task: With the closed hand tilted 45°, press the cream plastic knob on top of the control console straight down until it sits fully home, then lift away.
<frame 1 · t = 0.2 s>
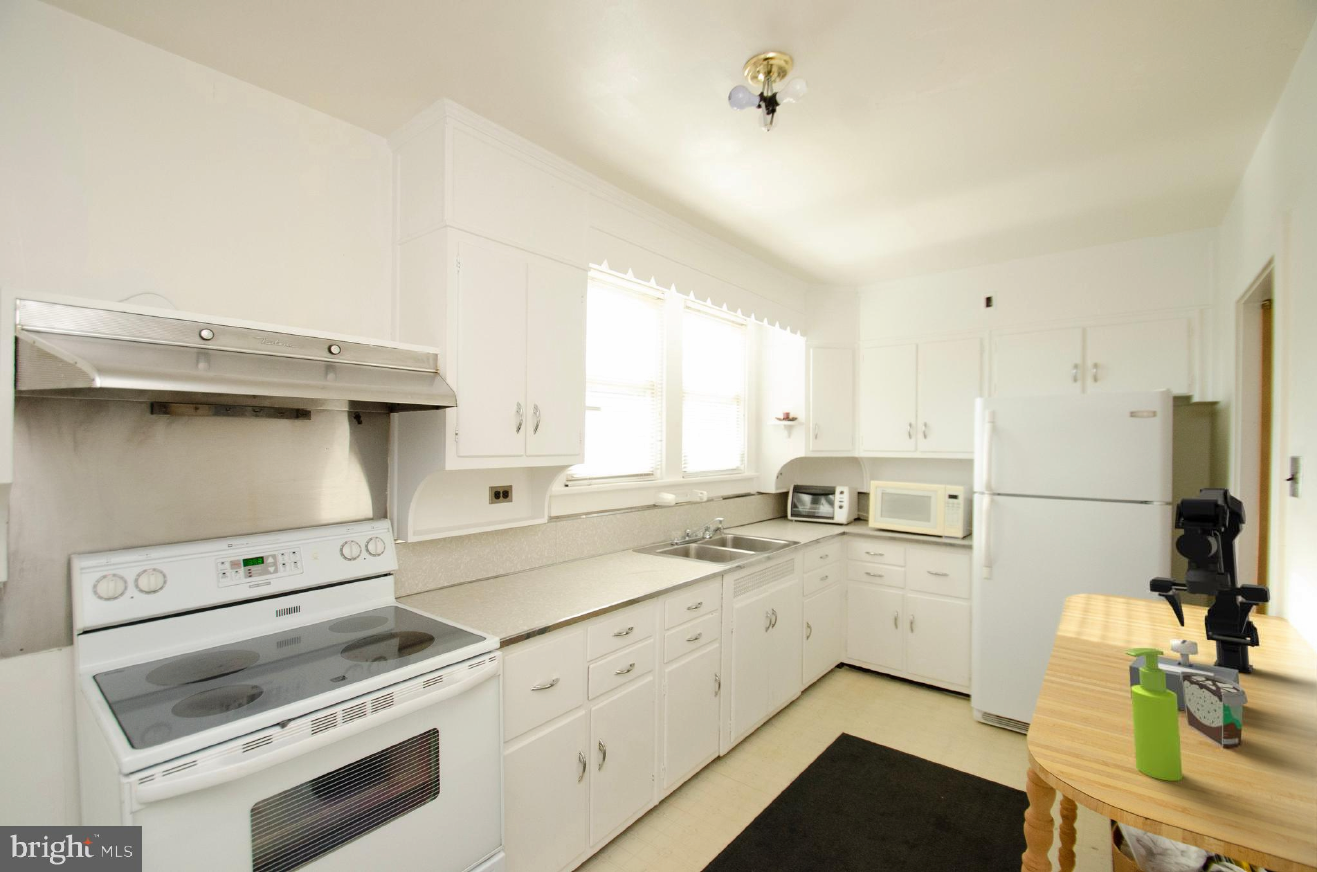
hand: (1210, 629, 128), 15 cm above the table, tool pointing down, fingers open, 9 cm apart
knob: (1184, 655, 129), point 9 cm above the table, slide at 2.5 cm
soap dispenser: (1156, 772, 99), on the table
console: (1185, 701, 126), on the table
food container: (1224, 738, 110), on the table
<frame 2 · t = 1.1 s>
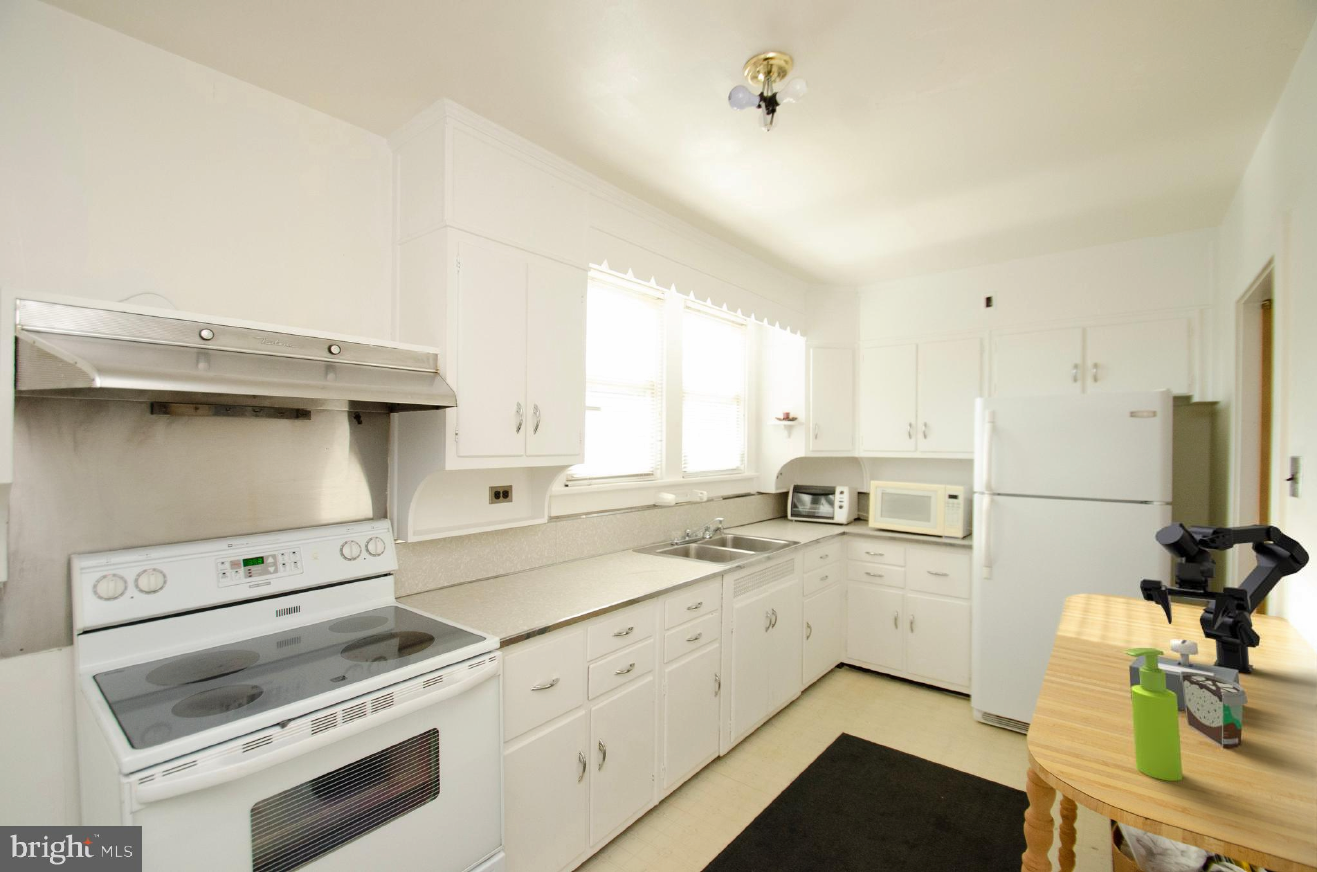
hand: (1191, 625, 135), 13 cm above the table, tool tilted 45°, fingers open, 7 cm apart
nothing on the table moved.
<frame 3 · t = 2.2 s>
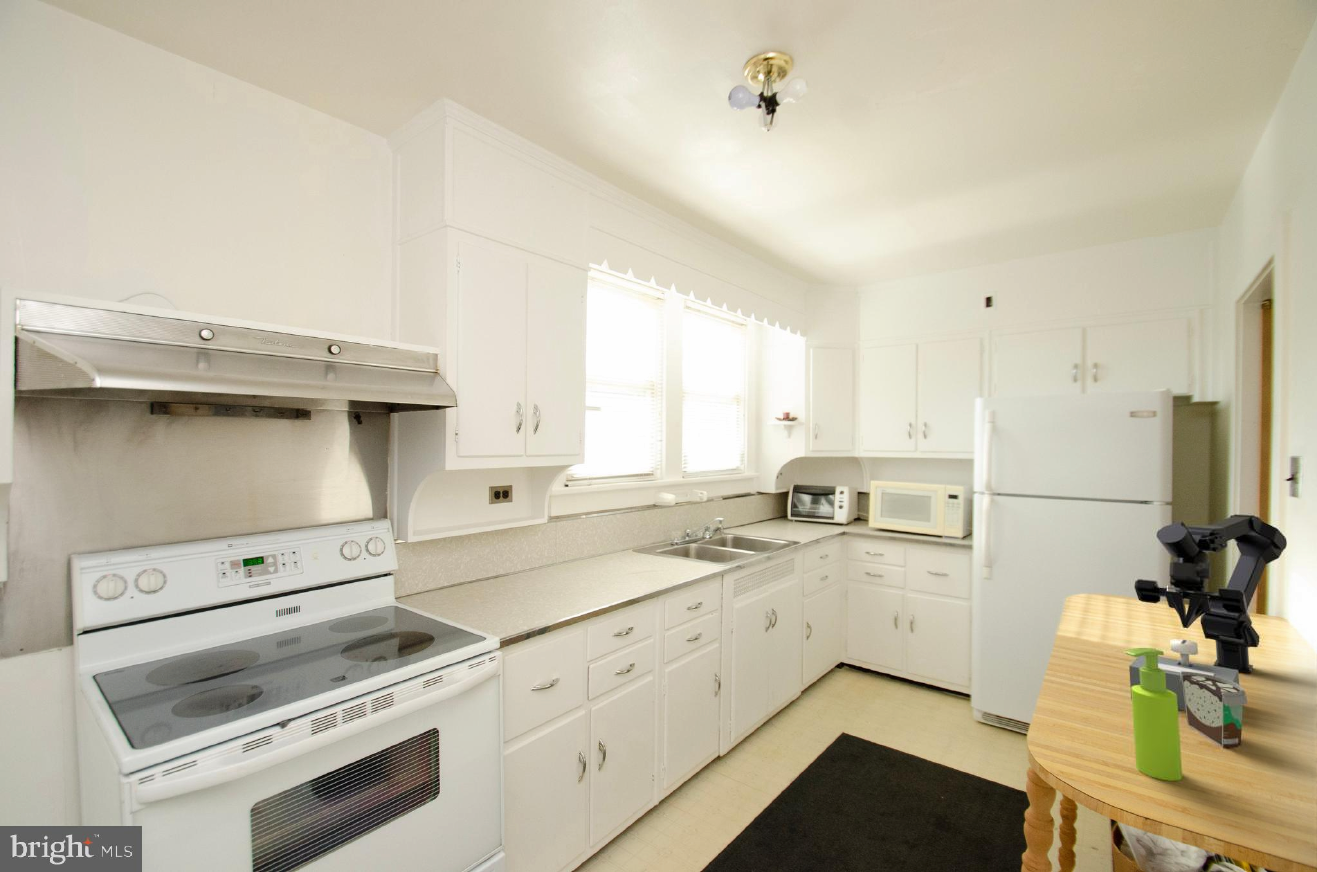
hand: (1185, 626, 132), 14 cm above the table, tool tilted 45°, fingers closed
nothing on the table moved.
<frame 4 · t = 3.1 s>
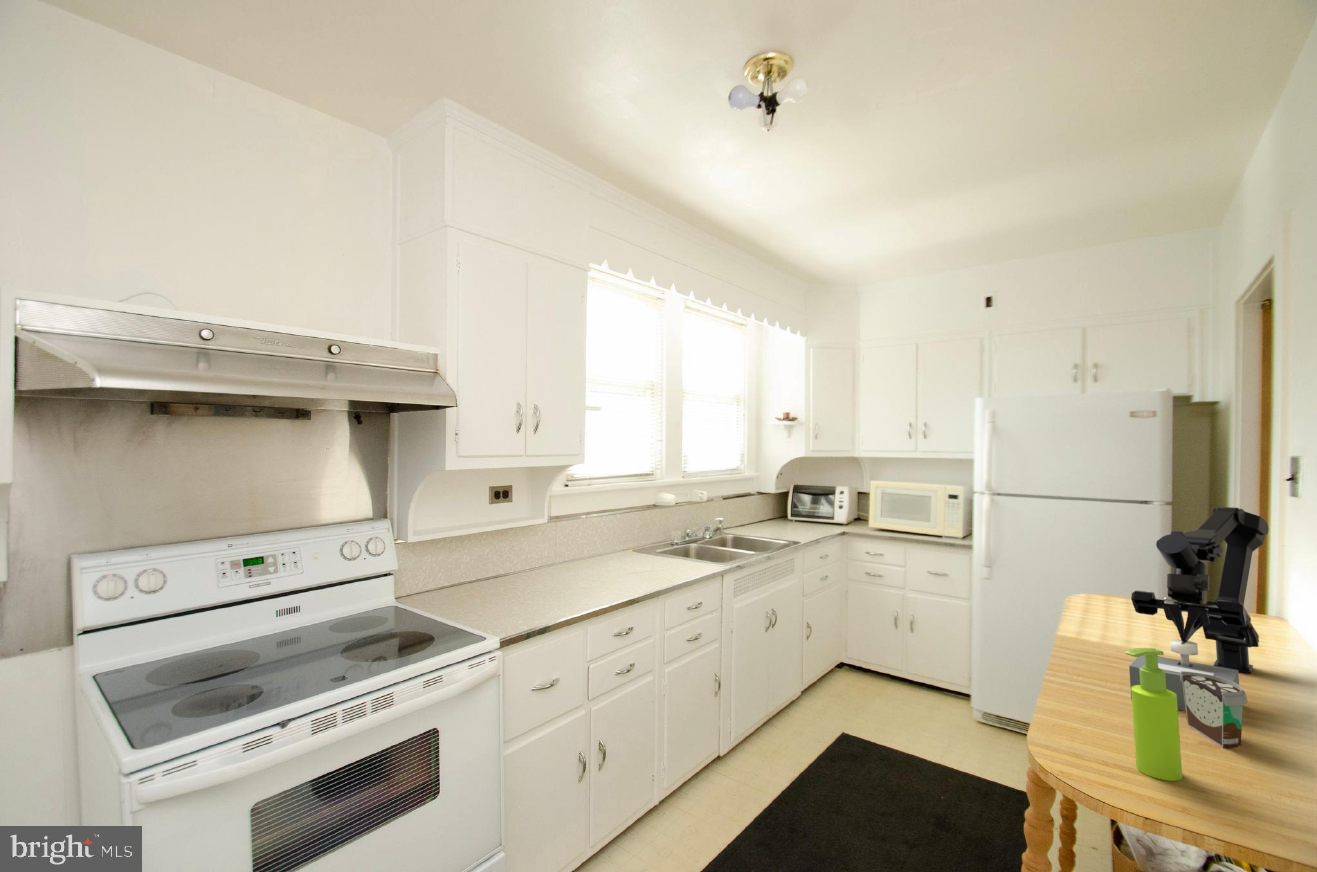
hand: (1183, 640, 129), 12 cm above the table, tool tilted 45°, fingers closed, pressing on knob
knob: (1184, 656, 129), point 9 cm above the table, slide at 2.4 cm, touching gripper
everything else where it was.
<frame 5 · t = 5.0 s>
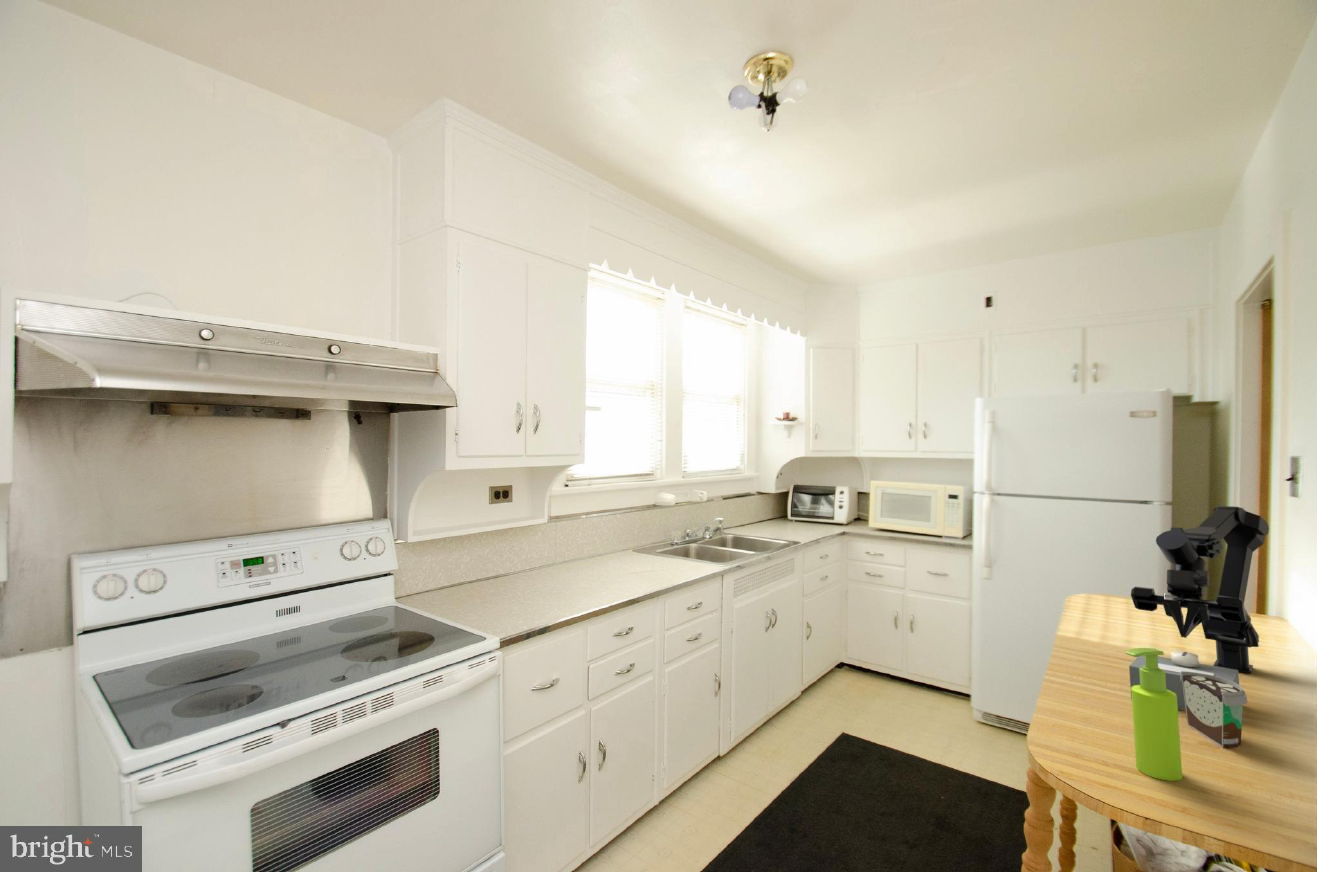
hand: (1183, 636, 129), 13 cm above the table, tool tilted 45°, fingers closed
knob: (1185, 668, 129), point 6 cm above the table, slide at -0.1 cm
everything else where it was.
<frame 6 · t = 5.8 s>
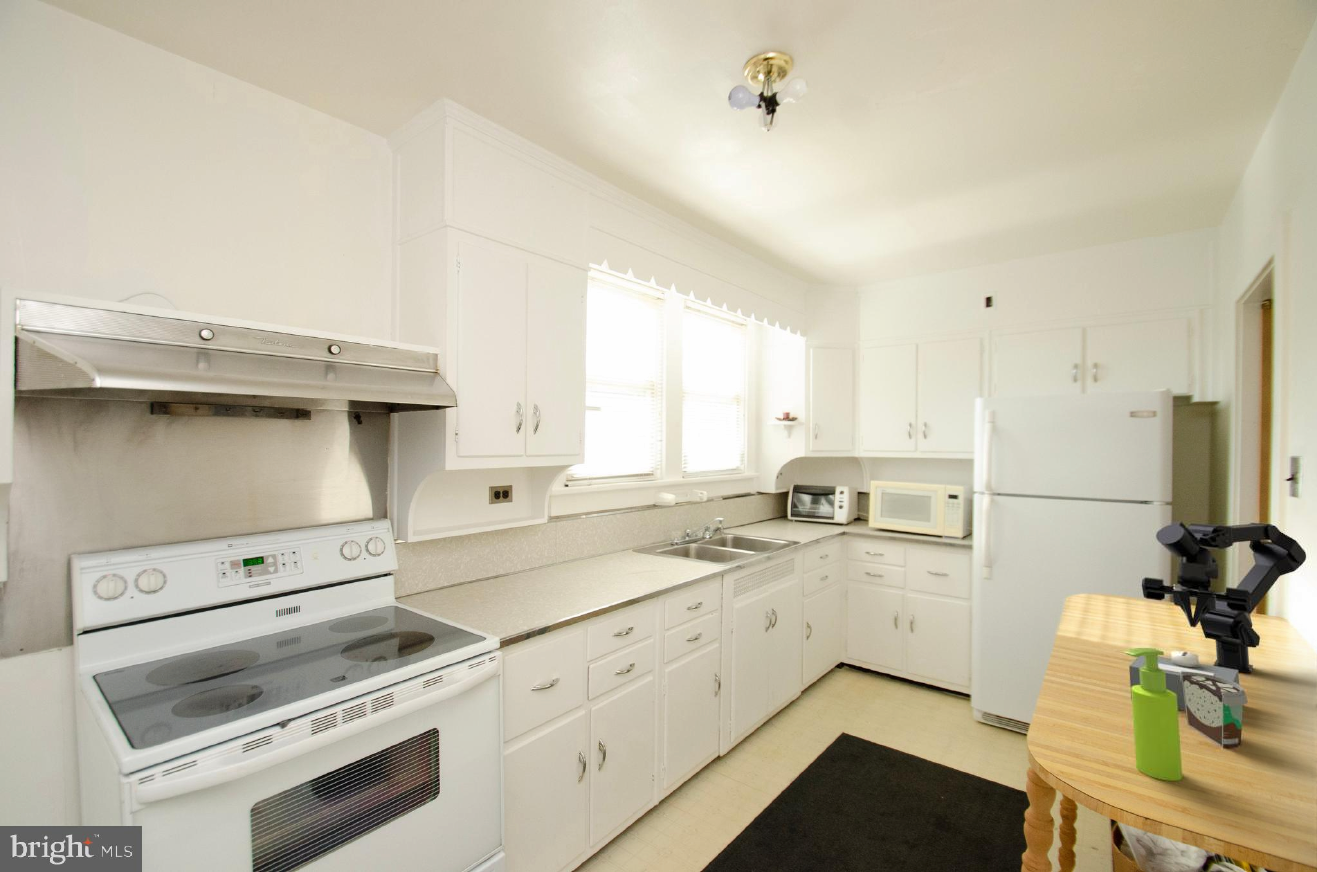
hand: (1192, 626, 135), 13 cm above the table, tool tilted 45°, fingers closed
nothing on the table moved.
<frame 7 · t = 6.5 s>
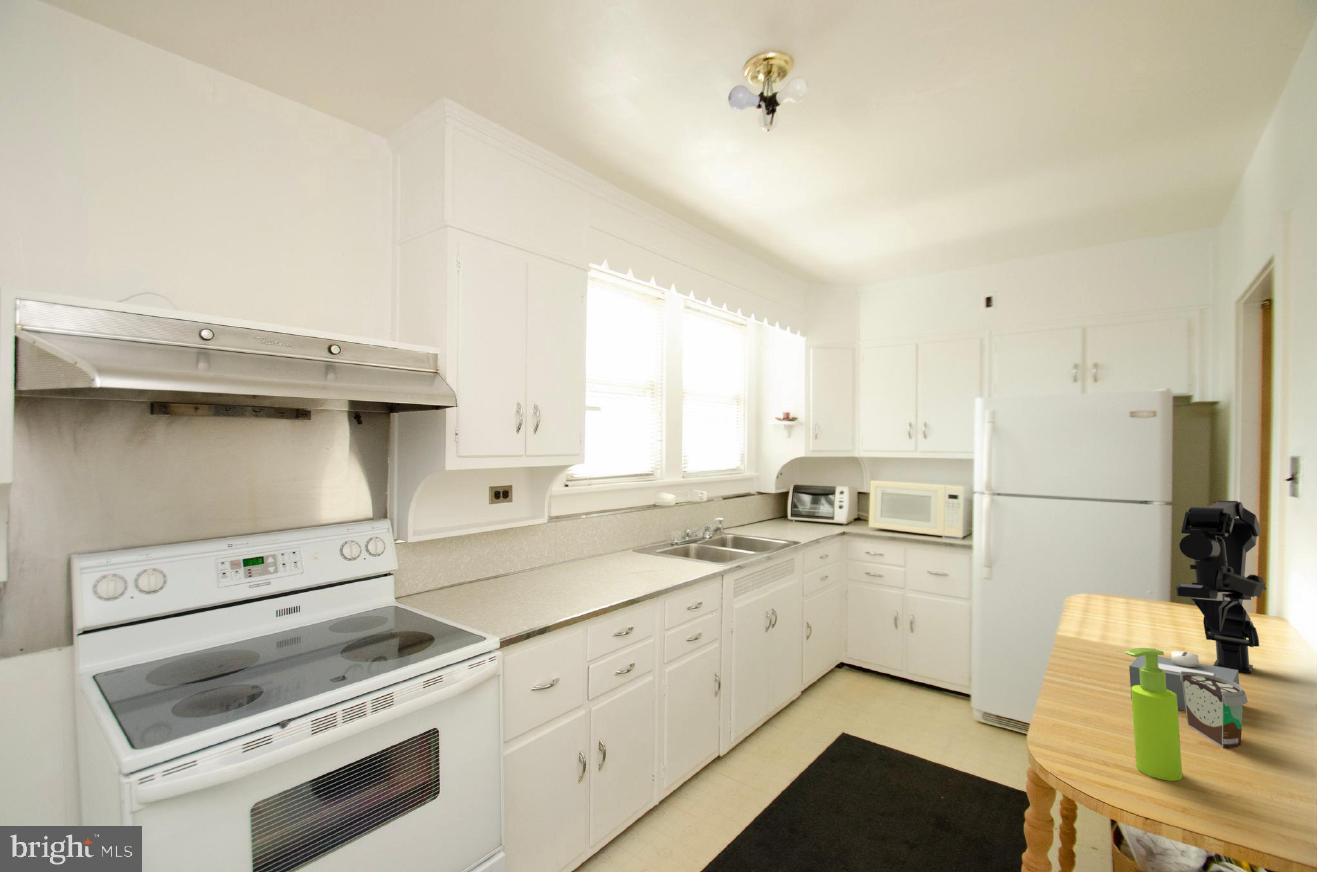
hand: (1217, 631, 136), 12 cm above the table, tool pointing down, fingers closed
nothing on the table moved.
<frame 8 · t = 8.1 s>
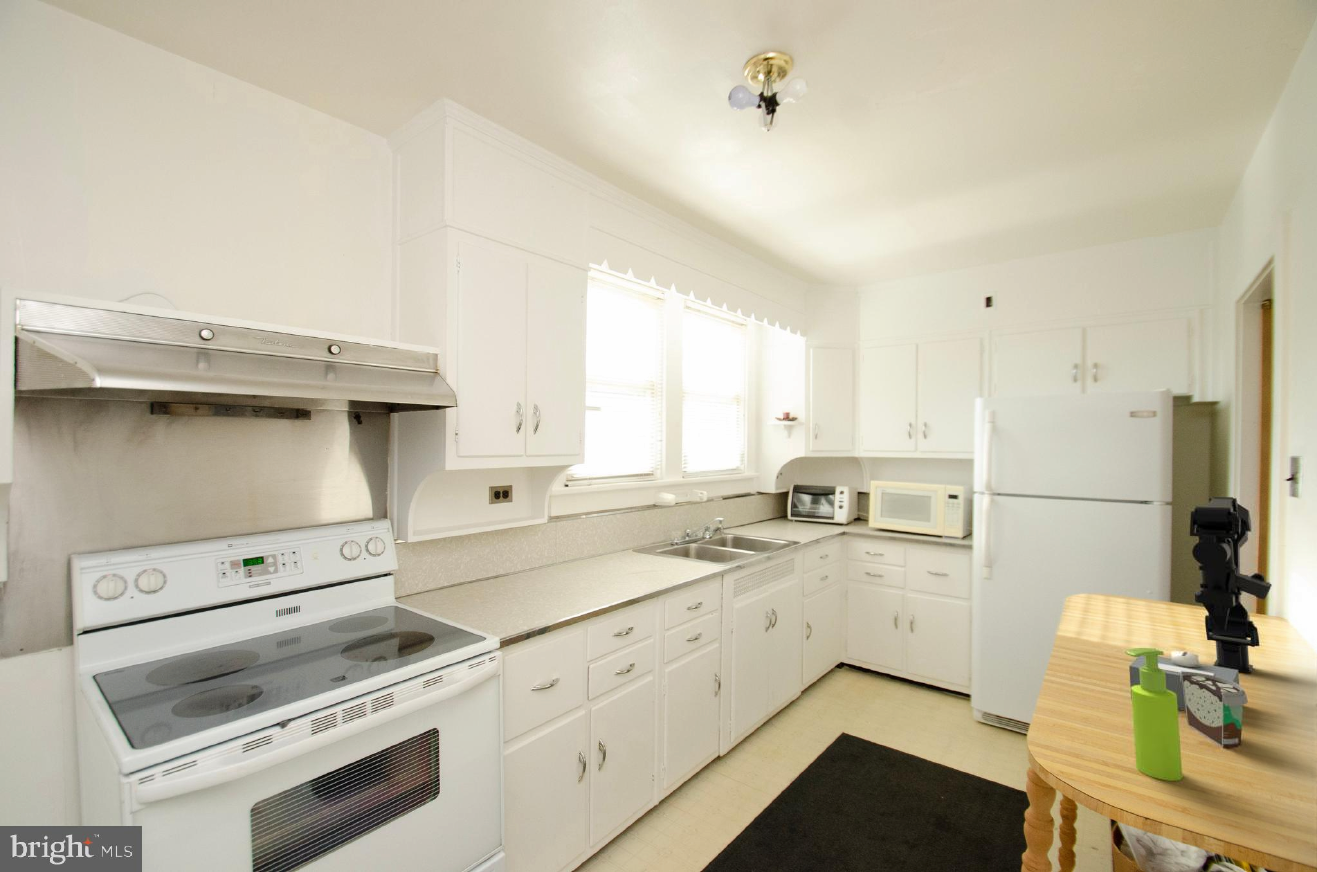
hand: (1221, 630, 136), 12 cm above the table, tool pointing down, fingers closed
nothing on the table moved.
at the end: knob slide at -0.1 cm; the gripper is holding nothing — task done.
